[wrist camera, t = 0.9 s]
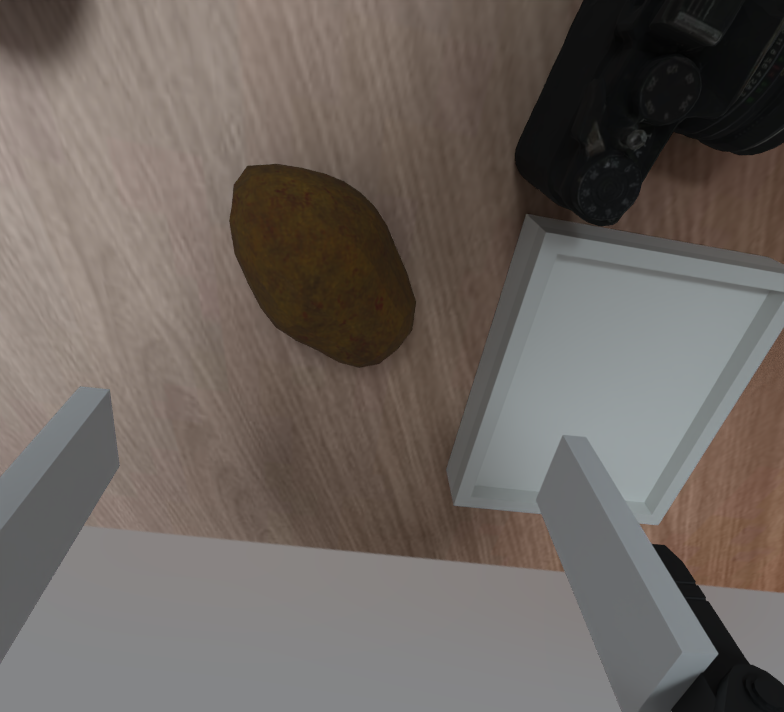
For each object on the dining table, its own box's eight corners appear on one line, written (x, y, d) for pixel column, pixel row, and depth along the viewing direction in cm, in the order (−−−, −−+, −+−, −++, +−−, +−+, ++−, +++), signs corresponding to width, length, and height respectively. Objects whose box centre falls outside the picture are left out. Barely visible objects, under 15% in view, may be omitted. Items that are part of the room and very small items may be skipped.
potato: (353, 355, 34) (350, 427, 27) (200, 218, 29) (152, 266, 22) (447, 276, 31) (470, 335, 25) (299, 112, 26) (277, 130, 20)
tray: (526, 213, 29) (546, 232, 26) (768, 256, 32) (814, 279, 28) (446, 469, 39) (453, 505, 36) (635, 489, 41) (658, 525, 38)
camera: (644, 233, 31) (754, 301, 22) (489, 164, 28) (544, 210, 20) (818, -33, 24) (1068, -83, 16) (638, -152, 22) (818, -288, 13)
